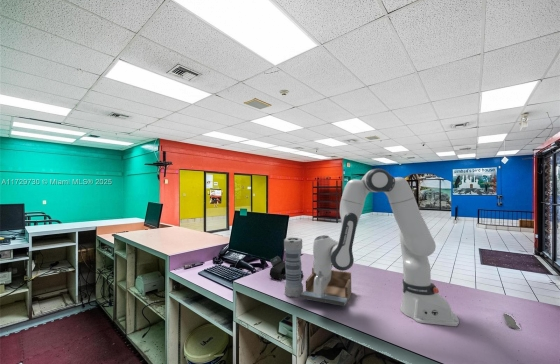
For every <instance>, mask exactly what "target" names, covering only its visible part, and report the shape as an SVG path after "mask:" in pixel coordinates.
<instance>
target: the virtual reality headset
mask: <svg viewBox="0 0 560 364" xmlns="http://www.w3.org/2000/svg"><path fill="white" fill-rule="evenodd" d="M269 263H270V264H271V265H272V266H271V268H270V269H269V276H270V278H273V279H276V280H278V281H280V280H284V281H286V266H285V261H283V260H282V259H281V257H280V256H278V255H277V256H274V257H273V258H271V259H269ZM303 278H304V272H303V270H302V271H301V279H302V280H303Z"/></svg>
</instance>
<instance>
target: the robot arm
mask: <svg viewBox="0 0 560 364" xmlns="http://www.w3.org/2000/svg"><path fill="white" fill-rule="evenodd" d="M369 193H384V194H385V195H386V197H387V200H388V203H389V205H390V209H391V211H392V214H393V216H394V221H396V224H397V225H398V226H397V227H398V228H399V231H400V232H399V238H400V239H399V241H400V249H401V250H400V251H401V257H402V269H403V270H402V273H403V278H402V284H401V285H402V286H401V287H402V293H403V294H402V300H401V303H400V304H401V305H400V311H401V313H402V314H404V315H405V316H408V317H409V318H411V319H413V320H414V321H416V322H417V323H420V324H429V325H441V326H449V327H457V326H459V324H460V323H459V322H460V321H459V320H460V319H459V317H458V315H457V314H456V313H455V312H454V311H453V310H452V307H451V305H450V303H449V302H448V300H447V299H446V298H444V297H443V296H441V294H439V292H440V290H439V288H438V287H437V285H435V284H434V283H433V282H432V281H431V280H432V279H431V276H432V275H431V264H430V261H429V257H430V256H431V255H433V253H434V252H435V251H436V247H437V245H436V242H435V240H434V238H433V236H432V234H431V231H430V230H429V227H428V226H427V223H426V221H425V219H424V217H423V216H422V213H421V212H420V208H419V206H418V203H417V200H416V198H415V195H414V192H413V190H412V188H411V186H410V184H409V182H408V181H407V179H406V178H404V177H401V176H397V177H395V176H393V175H391V174H390V173H389V172H388V171H387V170H385V169H382V168H373V169H370V170H369V171H367V172H366V173H365V174H364V175H363V176H362V177H361V178H360V179H357V178H356V179H354V178H353V179H350V180H349V181H347V183H346V185H345V186H344V189H343V191H342V194H341V195H342V196H341V198H340V202H339V216H340V221H341V229H340V233H339V238H338V239H339V240H335V239H333V238H331V236H329V235H326V234H325V235H320V236H316V237H315V239H314V240H313V246H312V248H313V249H312V251H313V252H312V253H313V254H312V255H313V267H312V268H314V273H315V274H316V277H315V278H314V294H316V295H321V297H324V296H325V290H326V286H327V285H328V283H329V282H330V280H331V270H333V267H334V269H335V270H337V271H343V272H345V271H348V270H349V269H351V268H352V267H353V264H354V263H355V261H354V254H353V245H354V242H355V235H356V232H357V231H356V230H357V226H358V224H359V221H360V218H361V215H362V213H363V209H364V206H365V201H366V198H367V196H368V194H369Z"/></svg>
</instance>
